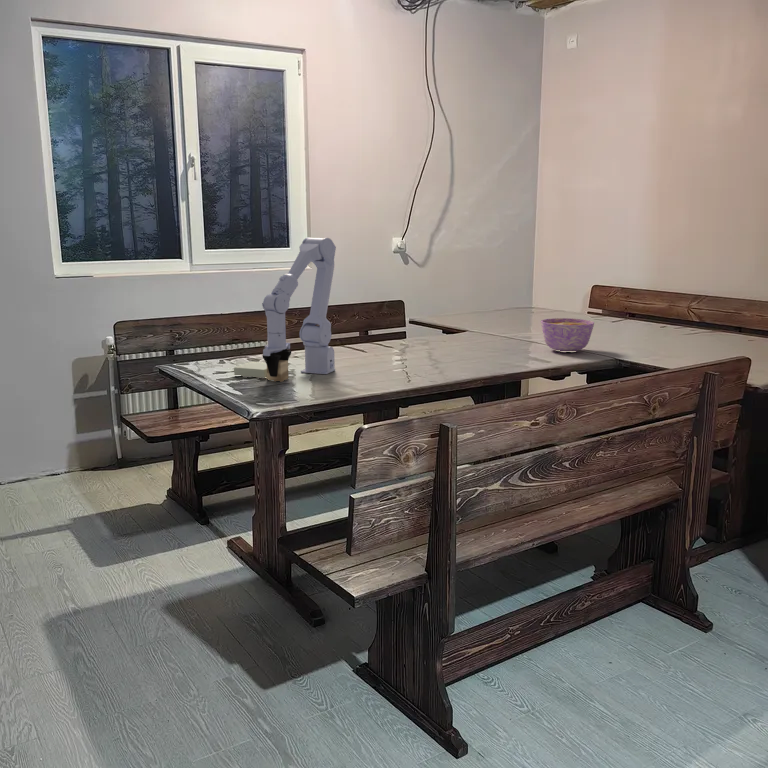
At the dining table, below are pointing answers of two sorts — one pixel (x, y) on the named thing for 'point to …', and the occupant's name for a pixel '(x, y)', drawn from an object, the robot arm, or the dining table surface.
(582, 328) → the bowl of food
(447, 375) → the dining table surface
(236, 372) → the sage slab
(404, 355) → the dining table surface
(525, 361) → the dining table surface
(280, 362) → the maple block
